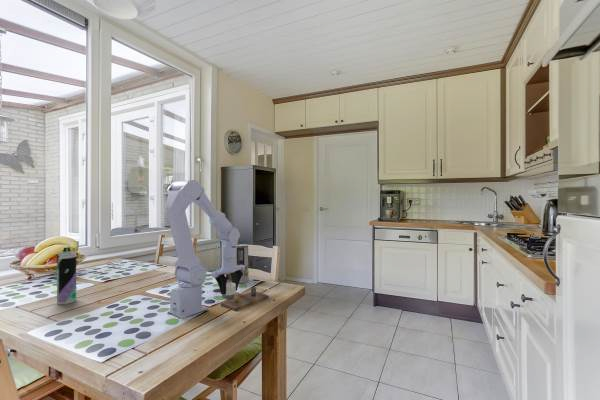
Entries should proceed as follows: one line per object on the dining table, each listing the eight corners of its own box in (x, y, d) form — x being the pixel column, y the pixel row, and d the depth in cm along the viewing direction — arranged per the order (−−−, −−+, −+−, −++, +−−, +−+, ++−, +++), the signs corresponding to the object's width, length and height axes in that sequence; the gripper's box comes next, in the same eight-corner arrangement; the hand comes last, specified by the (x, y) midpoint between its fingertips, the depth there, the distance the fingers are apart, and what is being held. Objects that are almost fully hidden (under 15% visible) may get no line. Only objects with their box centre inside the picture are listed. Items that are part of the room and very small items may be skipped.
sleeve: (228, 299, 105) (228, 287, 105) (219, 296, 108) (219, 285, 108) (238, 295, 109) (238, 284, 109) (230, 293, 112) (230, 282, 112)
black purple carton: (65, 305, 99) (65, 249, 99) (52, 303, 100) (52, 248, 100) (80, 299, 104) (80, 246, 104) (68, 298, 105) (68, 246, 106)
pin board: (235, 311, 94) (235, 298, 94) (220, 305, 98) (220, 293, 98) (268, 297, 106) (268, 286, 106) (254, 293, 111) (254, 282, 111)
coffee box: (248, 279, 131) (248, 245, 131) (244, 283, 124) (244, 247, 124) (230, 279, 132) (230, 245, 132) (225, 283, 125) (225, 247, 125)
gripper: (236, 253, 116) (236, 285, 116) (206, 259, 105) (206, 294, 105) (248, 255, 112) (248, 288, 112) (218, 261, 101) (218, 299, 100)
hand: (229, 292), depth 108 cm, fingers closed on sleeve, 5 cm apart
